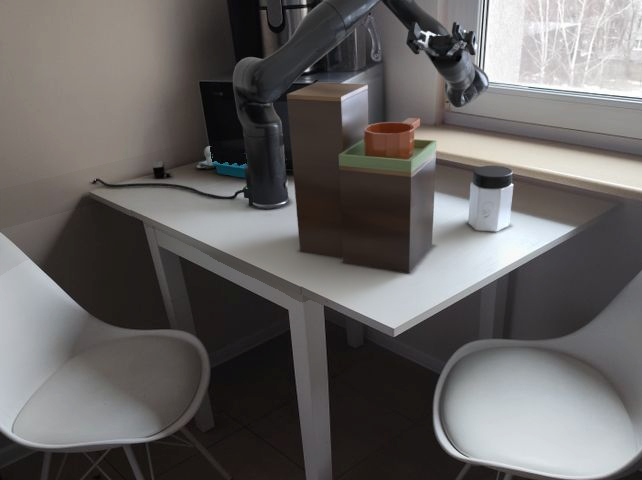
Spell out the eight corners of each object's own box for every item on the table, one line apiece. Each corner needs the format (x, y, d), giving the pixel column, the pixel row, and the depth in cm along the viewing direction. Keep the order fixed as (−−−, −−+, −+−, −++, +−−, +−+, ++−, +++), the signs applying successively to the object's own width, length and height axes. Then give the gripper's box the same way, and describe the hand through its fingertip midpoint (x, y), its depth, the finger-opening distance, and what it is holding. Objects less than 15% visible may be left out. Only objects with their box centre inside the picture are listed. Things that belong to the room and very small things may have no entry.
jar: (465, 230, 135) (469, 175, 129) (470, 216, 142) (474, 164, 135) (507, 233, 133) (513, 177, 126) (510, 219, 139) (516, 166, 133)
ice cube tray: (237, 162, 187) (235, 152, 186) (291, 170, 178) (290, 160, 176) (211, 173, 179) (209, 163, 178) (266, 182, 170) (265, 171, 168)
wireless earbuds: (154, 180, 176) (152, 168, 174) (155, 172, 182) (153, 161, 180) (171, 178, 177) (169, 166, 175) (171, 171, 183) (169, 160, 181)
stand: (325, 230, 139) (316, 82, 122) (432, 245, 129) (438, 87, 112) (295, 255, 128) (281, 96, 112) (409, 273, 119) (412, 103, 102)
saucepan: (393, 135, 128) (393, 110, 125) (435, 138, 125) (436, 112, 122) (357, 160, 114) (356, 132, 111) (403, 164, 111) (403, 135, 108)
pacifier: (192, 169, 184) (206, 171, 181) (188, 147, 181) (202, 149, 177) (210, 162, 189) (224, 165, 185) (207, 141, 185) (220, 143, 182)
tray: (368, 145, 124) (368, 135, 123) (436, 151, 119) (436, 140, 118) (338, 165, 114) (338, 154, 112) (411, 172, 108) (411, 161, 107)
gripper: (424, 42, 141) (403, 7, 126) (486, 43, 136) (472, 7, 121) (418, 76, 142) (396, 45, 127) (479, 78, 136) (464, 46, 121)
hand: (433, 26), depth 124 cm, fingers open, 8 cm apart
